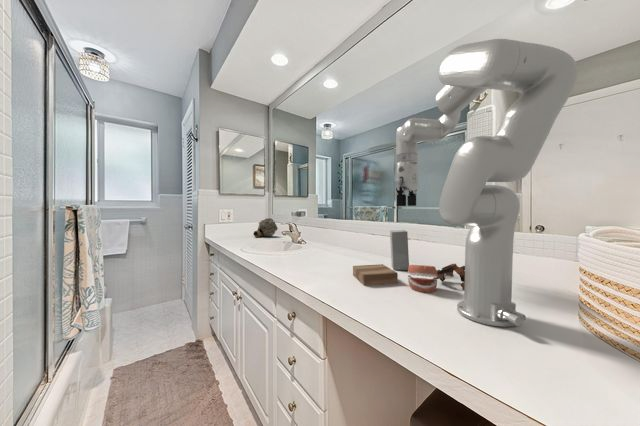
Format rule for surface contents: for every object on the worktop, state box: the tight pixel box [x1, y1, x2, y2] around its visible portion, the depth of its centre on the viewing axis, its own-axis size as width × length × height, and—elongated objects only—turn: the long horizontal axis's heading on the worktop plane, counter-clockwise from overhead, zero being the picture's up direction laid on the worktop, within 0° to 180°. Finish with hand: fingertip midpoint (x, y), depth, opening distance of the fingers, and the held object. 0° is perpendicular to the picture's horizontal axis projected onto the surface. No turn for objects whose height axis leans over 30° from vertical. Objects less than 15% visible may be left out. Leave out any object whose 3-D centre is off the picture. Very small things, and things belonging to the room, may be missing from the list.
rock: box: [253, 217, 279, 238], centre depth 200 cm, size 18×14×15 cm
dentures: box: [407, 264, 438, 293], centre depth 79 cm, size 9×7×8 cm
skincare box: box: [389, 229, 410, 271], centre depth 104 cm, size 8×7×16 cm
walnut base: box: [352, 263, 399, 287], centre depth 90 cm, size 12×12×4 cm
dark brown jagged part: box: [436, 263, 465, 291], centre depth 83 cm, size 12×10×8 cm
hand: (406, 205), depth 93 cm, fingers open, 9 cm apart
